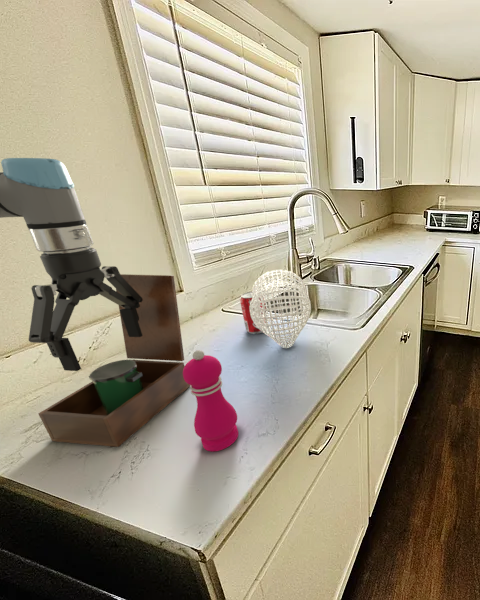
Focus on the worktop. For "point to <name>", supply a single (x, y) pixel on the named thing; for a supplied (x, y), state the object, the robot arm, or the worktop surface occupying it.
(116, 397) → the green pot
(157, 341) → the lid
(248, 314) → the soda can
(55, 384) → the worktop surface
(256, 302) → the heart
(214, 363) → the pepper mill
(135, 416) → the chest
